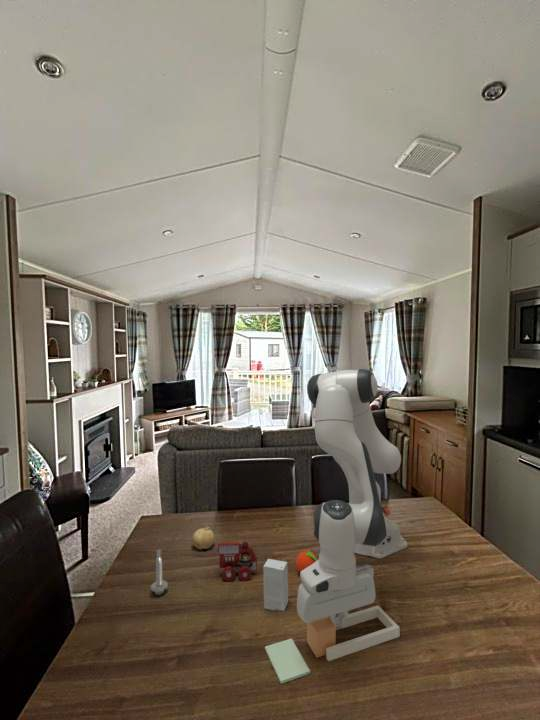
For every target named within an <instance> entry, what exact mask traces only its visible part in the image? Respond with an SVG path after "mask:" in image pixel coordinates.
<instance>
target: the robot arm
mask: <svg viewBox="0 0 540 720" xmlns="http://www.w3.org/2000/svg"><path fill="white" fill-rule="evenodd" d="M306 385H307V386H306V390H307V393H306V394H307V396H308V400H309V401H310V402H311V403H312V404H313V405H314V406H315V409H314V434H315V440H316V443H317V445H318V446H319V447H320V448H321V450H323V451H324V452H325V453H326V454H329V455H330V456H332V458H333V459H334V461H335V462H336V463H337V464H338V465H339V467H340V468H341V470H342V471H343V473H344V475H345V478H346V481H347V486H348V496H349V497H348V501H349V502H346V501H344V500H340V499H339V500H338V499H331V500H327V501H326V502H321V503H320V504H319V505H318V506H317V507H316V509H314V511H313V523H314V524H313V525H314V529H313V535H314V537H315V539H316V540H317V542H318V543H319V547H320V552H319V555H318V558H317V561H316V562H315V563H313V564H312V565H310V566H309V567H307V568H305V569H304V570H302V571H301V572H300V571H299V579H300V580H301V582H300V584H299V586H298V588H297V589H298V590H297V595H296V596H297V597H296V612H297V614H298V616H299V618H300V620H302V622H304V623H305V624H307V623H309V622H312V621H315V620H319V619H322V618H325V617H329V618H330V620H331V621H332V622H333V624H334V625H335V626H336V631H338V629H339V630H341V628H342V629H344V621H345V620H346V618H347V616H348V614H349V611H352V610H355V609H359V608H361V607H365V606H368V605H372V604H373V603H374V602H375V600H376V597H377V595H376V587H375V586H376V585H375V580H374V576H375V574H374V572H375V571H374V567H373V566H372V565H370V564H368V563H365V564H362V565H357V558H356V555H355V554H358V555H362V556H370V557H373V558H376V559H383V558H385V557H387V556H388V557H389V556H390V555H392V554H395V553H397V552H399V551H402V550H403V549H404V550H405V549H407V548H408V542H407V540H406V538H404V537H402V536H401V532H400V529H399V527H398V526H397V525H396V523H394V522H393V521H392V520H390V519H389V518H388V517H386V516H390V514H391V512H392V511H391V510H390V509H388V508H387V507H385V508H384V506H382V504H381V503H382V501H381V500H382V499H381V498H382V497H381V493H382V491H381V487H380V484H379V483H378V482H377V481H376V477H375V473H376V474H385V475H386V474H387V475H389V474H390V475H391V474H392V475H393V474H394V473H396V472H397V470H399V468H400V466H401V462H402V455H401V453H400V450H399V448H398V447H397V446H396V445H394V444H392V442H390V441H389V440H388V439H386V437H385V436H384V435H383V434H382V433H381V431H380V430H379V428H378V427H377V424H376V422H375V419H374V416H373V413H372V409H371V408H372V407H371V404H370V402H372V401H373V400H374V399H375V398H376V397H377V393H378V387H379V386H378V381H377V379H376V377H375V374H374V373H373V372H372V371H371V370H370V369H367V368H366V369H364V368H359V369H344V370H343V369H342V370H341V369H340V370H336V371H330V372H327V373H318V374H314V375H312V376H311V377H310V378H309V380H308V381H307V384H306ZM385 515H386V516H385ZM336 615H338V616H336Z"/></svg>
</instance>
